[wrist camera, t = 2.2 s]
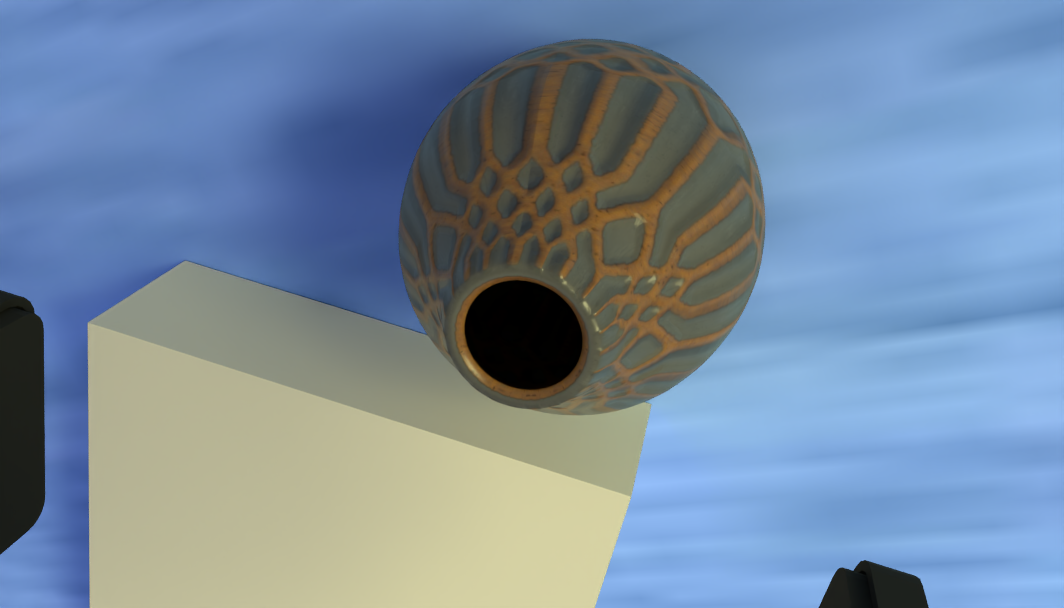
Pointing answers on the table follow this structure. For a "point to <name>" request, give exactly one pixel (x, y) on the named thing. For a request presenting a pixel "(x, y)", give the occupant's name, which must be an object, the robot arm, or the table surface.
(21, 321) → the robot arm
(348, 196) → the table surface
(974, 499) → the table surface
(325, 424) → the plinth
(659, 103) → the vase
